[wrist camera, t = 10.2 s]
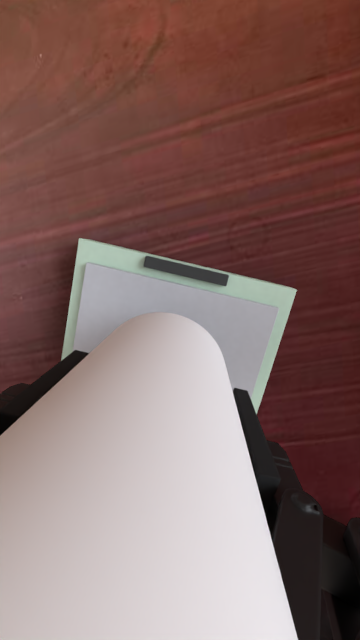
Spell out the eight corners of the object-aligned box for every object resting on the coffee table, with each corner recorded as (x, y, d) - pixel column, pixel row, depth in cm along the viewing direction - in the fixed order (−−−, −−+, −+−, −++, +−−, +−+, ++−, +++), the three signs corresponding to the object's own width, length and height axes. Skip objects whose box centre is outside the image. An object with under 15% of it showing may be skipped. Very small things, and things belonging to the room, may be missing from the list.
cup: (90, 315, 18) (-554, 686, 3) (223, 308, 18) (432, 722, 2) (106, 434, 20) (-217, 1079, 4) (228, 430, 19) (360, 1157, 4)
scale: (66, 396, 26) (49, 414, 23) (90, 239, 23) (75, 237, 20) (239, 437, 26) (244, 460, 23) (287, 286, 23) (300, 290, 20)
